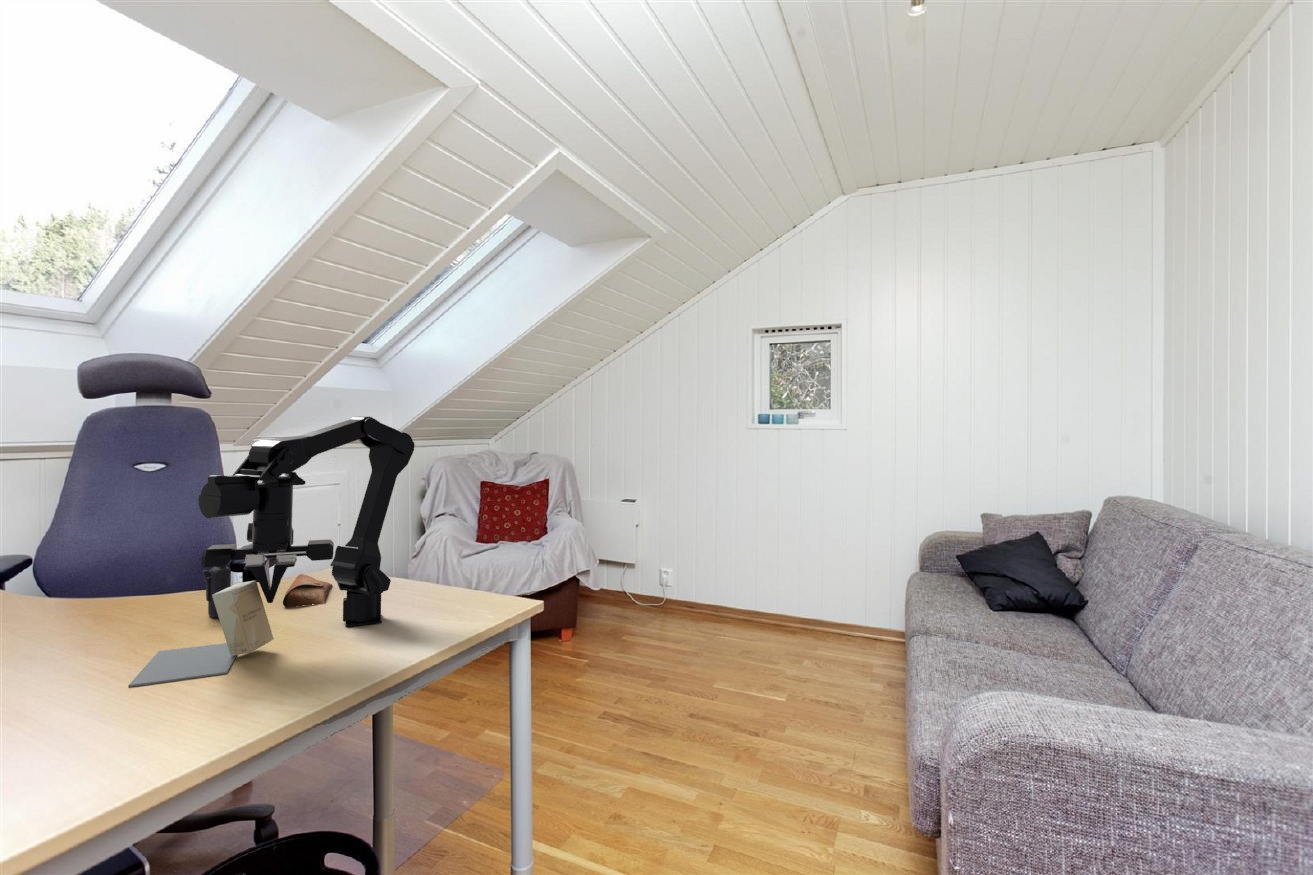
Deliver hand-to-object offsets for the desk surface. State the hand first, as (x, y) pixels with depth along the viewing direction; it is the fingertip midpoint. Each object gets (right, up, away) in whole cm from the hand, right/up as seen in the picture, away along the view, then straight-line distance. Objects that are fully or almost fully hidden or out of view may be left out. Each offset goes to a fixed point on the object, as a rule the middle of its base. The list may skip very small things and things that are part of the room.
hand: (270, 602), depth 102 cm
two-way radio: (-23, -8, +19) cm, 31 cm away
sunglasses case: (-14, -9, +35) cm, 38 cm away
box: (-2, -8, -1) cm, 8 cm away
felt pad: (-10, -9, -5) cm, 14 cm away
